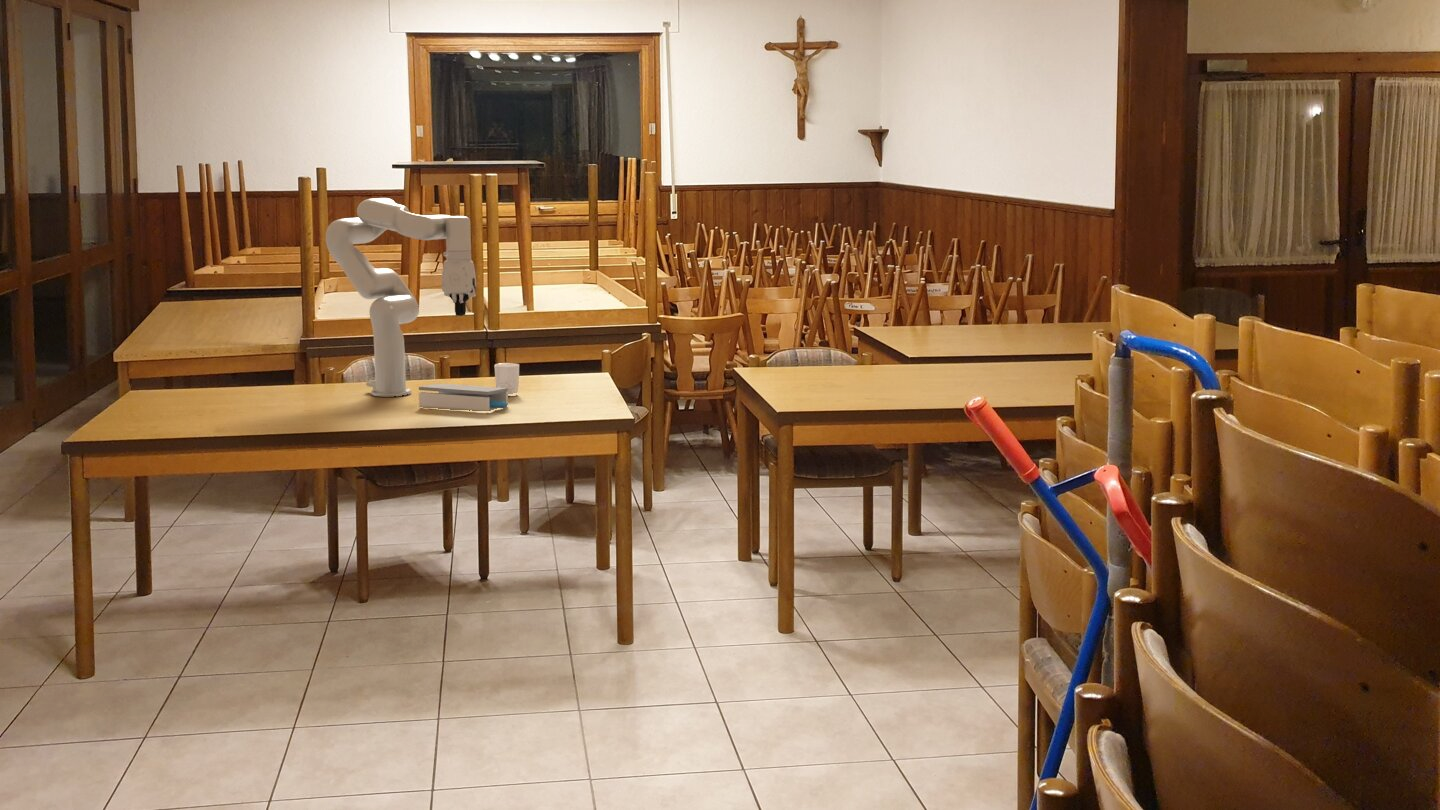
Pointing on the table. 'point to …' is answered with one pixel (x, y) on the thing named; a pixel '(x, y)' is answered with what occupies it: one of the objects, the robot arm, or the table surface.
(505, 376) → the white cup
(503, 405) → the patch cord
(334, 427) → the table surface
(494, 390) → the cover
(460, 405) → the pale long box
